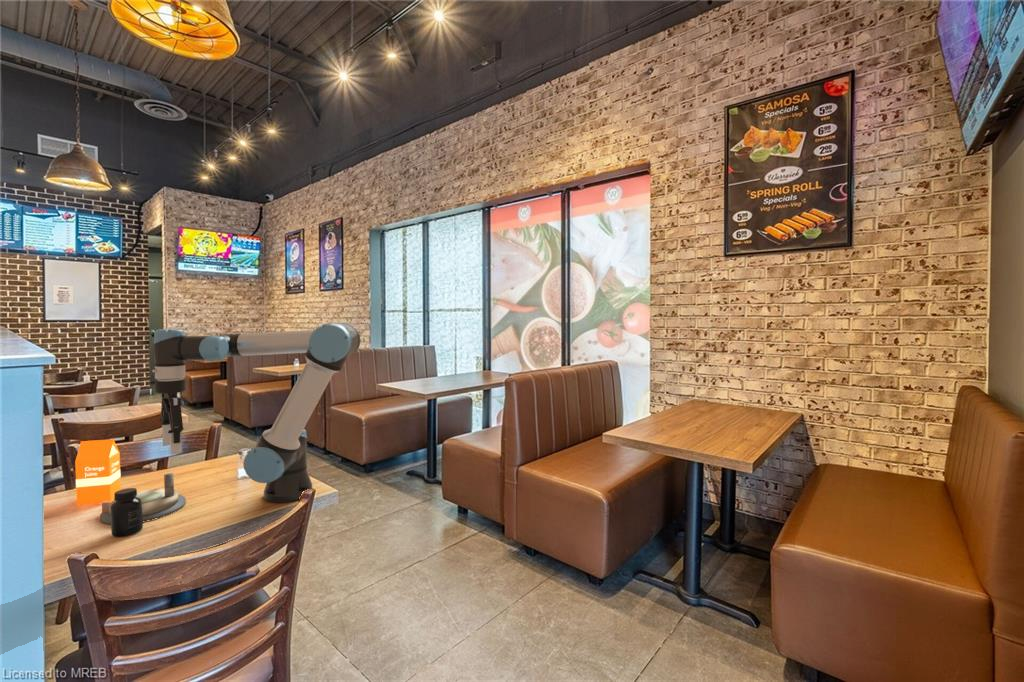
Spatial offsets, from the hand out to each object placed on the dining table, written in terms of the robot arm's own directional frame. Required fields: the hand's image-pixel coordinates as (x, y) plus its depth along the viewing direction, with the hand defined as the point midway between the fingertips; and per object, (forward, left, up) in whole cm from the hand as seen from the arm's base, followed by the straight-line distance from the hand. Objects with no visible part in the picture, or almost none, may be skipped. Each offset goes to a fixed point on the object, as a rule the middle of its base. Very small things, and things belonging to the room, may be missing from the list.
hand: (172, 449), depth 140 cm
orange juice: (+26, -21, -20) cm, 39 cm away
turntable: (+9, -5, -19) cm, 22 cm away
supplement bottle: (+8, +10, -20) cm, 24 cm away
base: (+9, -6, -20) cm, 23 cm away
